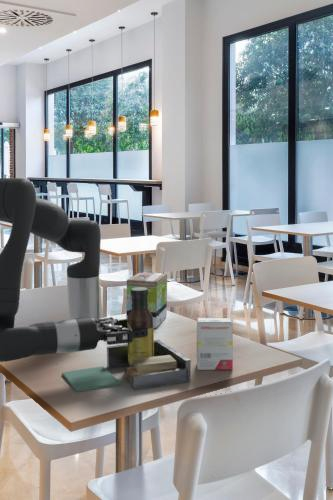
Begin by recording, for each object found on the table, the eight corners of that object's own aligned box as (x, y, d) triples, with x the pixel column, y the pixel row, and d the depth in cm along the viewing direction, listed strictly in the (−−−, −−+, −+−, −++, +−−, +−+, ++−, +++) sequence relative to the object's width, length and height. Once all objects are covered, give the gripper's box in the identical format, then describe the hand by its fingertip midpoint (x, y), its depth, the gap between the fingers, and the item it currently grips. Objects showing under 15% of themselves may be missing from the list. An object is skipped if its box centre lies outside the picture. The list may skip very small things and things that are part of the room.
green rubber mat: (62, 374, 140) (62, 372, 139) (103, 368, 144) (103, 366, 144) (76, 391, 129) (76, 389, 129) (120, 384, 133) (120, 382, 133)
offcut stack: (125, 378, 137) (125, 359, 136) (169, 372, 141) (169, 353, 141) (135, 387, 131) (135, 367, 130) (180, 380, 136) (180, 361, 135)
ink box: (231, 363, 147) (231, 316, 146) (232, 370, 142) (233, 322, 141) (196, 363, 147) (196, 316, 146) (196, 370, 143) (197, 321, 141)
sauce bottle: (136, 364, 147) (135, 284, 144) (158, 367, 144) (158, 286, 142) (122, 371, 141) (121, 289, 139) (146, 375, 139) (145, 291, 136)
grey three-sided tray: (107, 366, 145) (106, 346, 145) (158, 359, 151) (158, 339, 150) (133, 390, 129) (133, 368, 129) (190, 381, 135) (190, 359, 134)
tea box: (157, 329, 180) (157, 280, 178) (125, 327, 182) (124, 279, 180) (167, 317, 194) (167, 272, 192) (137, 315, 196) (137, 271, 194)
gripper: (82, 326, 128) (151, 318, 135) (65, 312, 141) (129, 305, 147) (83, 360, 129) (152, 350, 136) (66, 342, 142) (129, 334, 148)
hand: (140, 327), depth 141 cm, fingers open, 8 cm apart
